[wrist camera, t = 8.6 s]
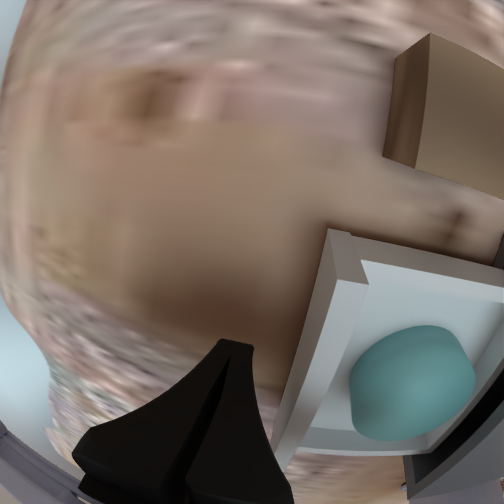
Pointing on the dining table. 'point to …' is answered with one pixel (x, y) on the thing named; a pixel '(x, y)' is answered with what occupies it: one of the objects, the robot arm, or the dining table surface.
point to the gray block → (464, 445)
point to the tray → (376, 328)
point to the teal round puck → (409, 383)
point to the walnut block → (448, 114)
